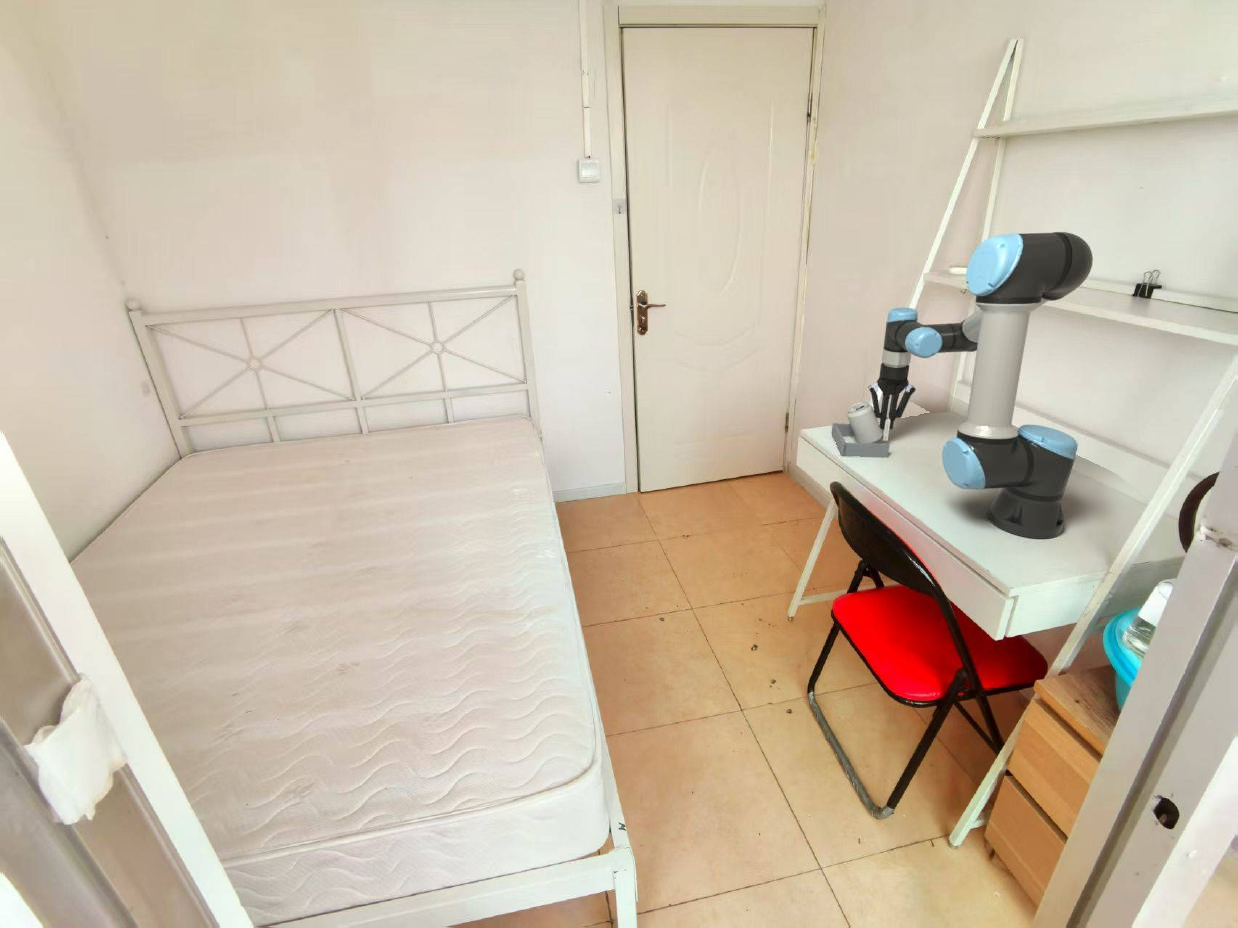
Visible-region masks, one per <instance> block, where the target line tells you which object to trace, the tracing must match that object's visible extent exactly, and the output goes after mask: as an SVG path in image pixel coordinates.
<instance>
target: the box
mask: <svg viewBox="0 0 1238 928" xmlns="http://www.w3.org/2000/svg"><path fill="white" fill-rule="evenodd" d="M831 434H832V436H831V438H832V437H833V438H832V440H833V439H834V440H833V442H834V441H835V442H836V444H835V446H836V445H837V446H836V448H837V451H838V450H839V451H838V453H839V452H840V453H839V454H840V457H841V456H860V457H859V458H886V457H889V452H890V451H889V450H890V445H891V444H890V443H883V442H882V443H881V442H880V443H878V442H876V443H858V442H846V440H845V437H843V436H855V435H854V432H853V430H852V427H851V425H850V423H832V426H831ZM835 442H834V443H835Z"/></svg>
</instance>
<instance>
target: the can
mask: <svg viewBox="0 0 1238 928" xmlns="http://www.w3.org/2000/svg"><path fill="white" fill-rule="evenodd" d="M846 417H847V419H848V422H849V424H850V425H851V427H852V430H853V432H854V435H855V437H854V438H855V439H856V443H878V442H879V441H880V440H882V435H883V434H882V429H881V428H880V426H879V425H880V422H879V421H878V418H877V417H876V415H875V413H874V408H873V405H871V404H869V402H868V401H866V400H865V401H859V402H856V403H854V404H852V405H850V406H849V407H848V408H847V413H846Z"/></svg>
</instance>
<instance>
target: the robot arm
mask: <svg viewBox="0 0 1238 928" xmlns="http://www.w3.org/2000/svg"><path fill="white" fill-rule="evenodd" d="M1090 247H1091V246H1090V245H1089V244H1088V242H1086V241H1085V240H1084V239H1083V238H1082V237H1080V236H1079V235H1077V234H1074V233H1072V232H1071V233H1070V232H1068V231H1067V232H1066V231H1055V232H1036V233H1033V232H1031V233H1013V232H1011V233H1007V234H999V235H992V236H990V237H988V238H987V239H984V241H982V242H981V243H980V244H979V245H978V247H977V248H976V249H975V250H974V252H972V255H971V257H970V258H969V262H968V265H967V268H966V272H965V282H966V284H967V286H966V287H967V289H968V291H969V292H970V293H971V294H972V295H974V296H975V297H976V298H975V301H974V302H975V305H976V306H977V307H978V310H976V311H975V312H973V313H972V314H971V315H970V316H968V317H966V318H965V319H964V320H962V321H960V322H952V323H951V322H950V323H937V324H936V323H933V324H930V323H929V324H922V323H920V322H918V320H919V318H918V317H919V316H918V311H917V309H914V308H912V307H905V306H904V307H895V308H892V309H890V310H889V312H888V313H887V314H888V315H887V320H886V322H885V324H886V325H885V332H884V333H885V334H884V338H883V339H884V342H883V349H882V356H881V362H882V363H880V369H879V377H878V379H876V383H874V384H871V385H868V386H867V387H868V390H869V392H870V394H871V401H872V407H873V410H874V413H875V415H876V418H877V419H879V426H880V428H881V431H882V434H883V435H882V437H881V440H882V441H886V442H887V441H888V440H889V432H890V430H893V428H894V422H895V421H896V419H901V418H902V417H903V415H904V412H905V410H906V407H907V406H908V403H909V401H910V398H911V396H912V395H913V394H914V393H915V392H916V387H915V386H914V385H913V384H909V382H910V381H909V380H908V378H909V373H910V363H911V359H912V356H915V357H918V358H920V359H929V358H932V357H933V356H935V355H936V354H941V353H942V354H943V353H944V354H945V353H966V352H967V353H973V352H976V353H975V359H974V367H973V368H974V369H973V374H972V381H971V388H970V395H969V402H968V407H967V408H968V409H967V415H966V420H965V421H964V422H963V423H961V424H960V425H958V427H957V431H956V437H952V438H950V439H948V440H947V441H946V442H945V444H944V445H943V448H942V455H941V457H942V458H941V459H942V464H943V468H944V471H945V473H946V476H947V478H948V479H949V481H950V482H951V483H952V484H953V485H954V486H955V487H957V488H958V489H961V490H975V491H982V490H990V489H1000V491H999V492H998V493H997V495H996V496H995V497H994V499H993V501H992V502H990V504H989V507H988V510H987V518H988V520H989V521H990V522H991V523H992V524H993V525H994V526H996V527H997V528H999V529H1001V530H1003V531H1005V532H1006V533H1010V534H1012V535H1016V536H1020V537H1023V538H1029V539H1030V538H1031V539H1040V540H1041V539H1043V540H1044V539H1052V538H1056V537H1057V536H1058V537H1059V535H1060V534H1061V533H1062V531H1063V528H1064V524H1065V515H1064V507H1063V497H1064V493H1065V490H1066V487H1067V484H1068V482H1069V479H1070V476H1071V471H1072V469H1073V466H1074V463H1075V460H1076V459H1077V457H1076V455H1077V451H1078V447H1079V446H1078V445H1079V443H1078V442H1077V440H1076V439H1075V438H1074V437H1073V436H1071V435H1070V434H1068V433H1066V432H1063V431H1061V430H1059V429H1055V428H1052V427H1048V426H1043V425H1040V424H1039V425H1038V424H1023V425H1020V426H1019V428H1018V430H1017V429H1016V428H1015V427H1014V426H1013V424H1012V423H1013V418H1014V411H1015V405H1016V400H1017V395H1018V394H1017V393H1018V387H1019V381H1020V376H1021V375H1020V374H1021V370H1022V369H1021V368H1022V363H1023V357H1024V352H1025V345H1026V340H1027V339H1026V338H1027V334H1028V328H1029V323H1030V315H1031V312H1033V311H1034V310H1036V309H1038V308H1039V307H1041V306H1043V305H1044V304H1046V303H1048V302H1055V301H1058V300H1061V299H1063V298H1065V297H1066V296H1068V295H1069V294H1071V293H1072V292H1074V291H1075V290H1077V289H1078V288H1079V287H1080V286H1082V285H1083V283H1084V282H1085V281H1086V280H1087V278H1088V277H1089V274H1090V273H1091V270H1092V268H1093V263H1094V262H1093V252H1092V248H1090ZM879 390H880V391H881V393H882V399H881V405H880V404H879V403H880V402H879V397H878V391H879ZM903 391H904V392H903ZM902 392H903V394H902V396H901V399H900V401H898V400H899V398H900V397H899V396H900V394H901V393H902ZM889 402H890V403H889ZM898 402H899V404H898ZM887 415H888V416H887Z"/></svg>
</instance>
